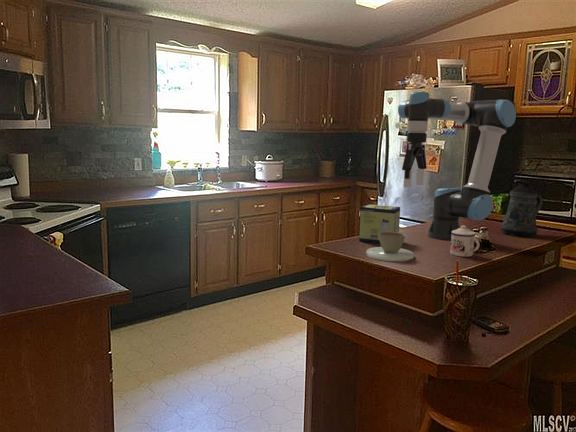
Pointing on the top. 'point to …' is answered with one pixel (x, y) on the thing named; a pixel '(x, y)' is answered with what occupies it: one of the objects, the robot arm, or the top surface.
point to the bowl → (391, 241)
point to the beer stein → (522, 211)
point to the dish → (389, 255)
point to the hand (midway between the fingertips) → (413, 186)
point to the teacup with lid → (463, 242)
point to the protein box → (378, 221)
